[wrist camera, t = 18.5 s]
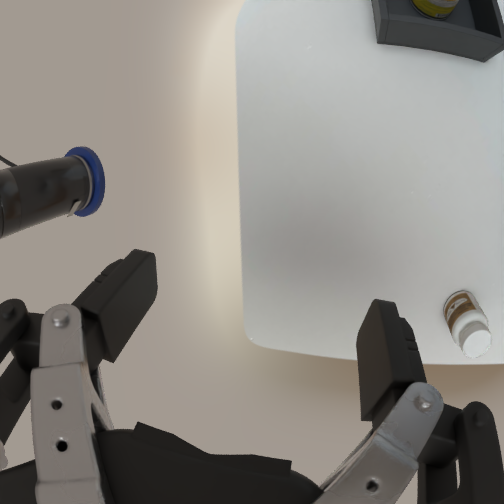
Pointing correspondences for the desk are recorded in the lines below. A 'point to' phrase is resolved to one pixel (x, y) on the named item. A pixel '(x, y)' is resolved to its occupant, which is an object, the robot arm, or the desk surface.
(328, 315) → the desk surface
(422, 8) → the supplement bottle
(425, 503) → the robot arm
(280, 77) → the desk surface
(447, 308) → the pill bottle
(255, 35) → the desk surface
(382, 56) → the desk surface
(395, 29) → the bin
